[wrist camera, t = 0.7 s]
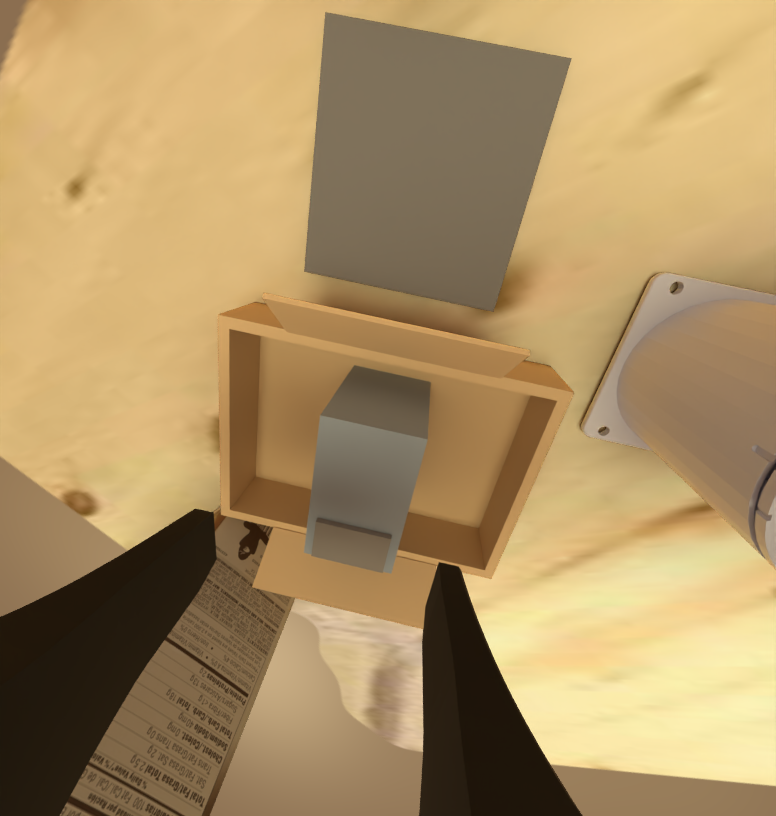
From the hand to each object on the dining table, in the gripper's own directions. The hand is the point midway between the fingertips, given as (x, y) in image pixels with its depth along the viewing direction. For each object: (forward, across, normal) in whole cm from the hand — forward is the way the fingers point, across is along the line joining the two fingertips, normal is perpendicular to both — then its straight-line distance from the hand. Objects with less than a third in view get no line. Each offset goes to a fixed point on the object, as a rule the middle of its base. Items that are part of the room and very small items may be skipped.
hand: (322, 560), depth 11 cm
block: (+9, 0, 0) cm, 9 cm away
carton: (+10, 0, 0) cm, 10 cm away
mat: (+10, 0, -12) cm, 15 cm away
